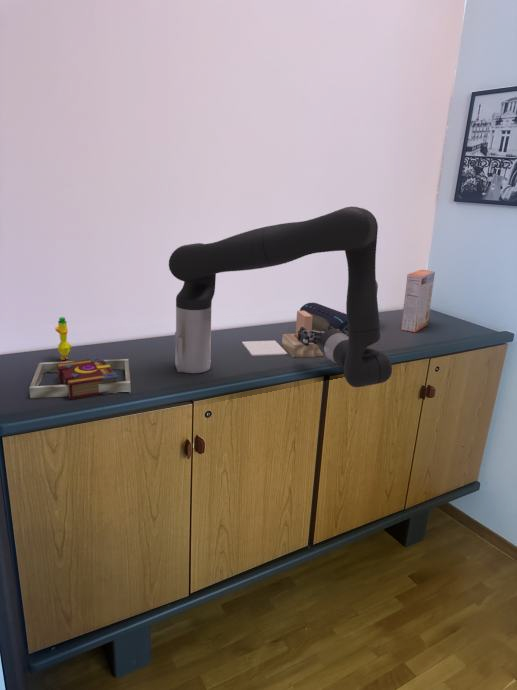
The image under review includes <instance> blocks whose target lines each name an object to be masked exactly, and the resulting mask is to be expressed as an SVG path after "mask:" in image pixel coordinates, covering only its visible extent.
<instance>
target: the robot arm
mask: <svg viewBox="0 0 517 690" xmlns="http://www.w3.org/2000/svg"><path fill="white" fill-rule="evenodd" d="M378 229H379V226H378V221H377V218H376V217H375V215H374V214H373V212H371V211H369V210H368V209H366V208H363V207H359V206H346V207H343V208H340V209H337V210H334V211H332V212H330V213H327V214H324V215H321V216H318V217H314V218H310V219H308V220H303V221H294V222H293V221H292V222H285V223H279V224H274V225H267V226H263V227H259V228H254V229H251V230H248V231H244V232H241V233H238V234H235V235H232V236H229V237H226V238H223V239H222V240H218V241H214V242H211V243H210V242H209V243H203V242H202V243H201V242H198V243H196V242H195V243H190V244H184V245H181V246H179V247H177V248H176V249H175V250H173V252H172V253H171V255H170V256H169V260H168V267H169V268H168V269H169V271H170V272H171V275H173V277H175V278H176V279H177V280H178V281H182V282H183V285H182V287H181V290H180V291H179V292H178V293H177V295H176V298H175V332H174V349H175V350H174V355H175V356H174V365H175V369H176V371H177V373H186V374H200V373H205V372H208V371H209V370H210V369H211V361H212V360H211V351H212V350H211V349H212V348H211V345H212V344H211V342H212V305H213V304H212V303H213V299H214V295H215V291H216V279H217V276H216V275H217V274H219V273H220V274H222V273H226V272H228V273H229V272H241V271H252V270H259V269H264V268H269V267H270V268H271V267H276V266H280V265H284V264H287V263H290V262H291V263H292V262H293V261H295V260H298V259H301V258H303V257H306V256H310V255H312V254H313V255H314V254H318V253H328V252H330V253H331V252H339V251H340V252H342V251H344V253H345V258H346V262H347V272H348V273H347V275H348V276H347V277H348V278H347V291H346V303H345V304H346V305H345V307H346V314H347V325H348V331H347V330H345V329H344V330H342V331H340V330H339V329H335V328H333V327H332V326H329V328H328V330H327V331H326V332H323V331H322V332H319V331H315V330H312V331H308V330H307V329H305V328H304V327H301V329H299V331H298V338H297V340H298V341H299V342H301V343H302V344H303V345H305V346H309V343H312V344H315V345H318V347H319V349H320V351H321V352H322V353H323V356H325V357H327V358H328V359H329V360H330V361H331V362H332V363H334V364H336V365H337V366H339V367H340V368H341V369H342V370H343V375H344V379H345V380H346V382H347V383H348V384H349V386H351V387H352V388H361V387H367V386H373V385H379V384H383V383H385V382H387V381H388V380H389V379H390V378H391V376H392V373H393V366H392V363H391V361H390V359H389V357H388V356H387V355H386V354H385V353H383V352H381V351H379V350H377V349H375V348H374V349H373V348H369V347H370V346H371V345H374V344H376V343H377V342H379V341H380V340H381V326H380V315H379V314H380V313H379V304H378V290H377V291H376V281H377V280H376V279H377V278H376V277H377V276H376V259H377V257H376V255H377V244H378ZM308 334H310V338H309V335H308Z"/></svg>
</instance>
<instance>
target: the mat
mask: <svg viewBox="0 0 517 690" xmlns="http://www.w3.org/2000/svg"><path fill="white" fill-rule="evenodd" d="M241 343H242V345H243V346H244V348H245V350H247V352H248V353H249V354H250V355H251V356H252V357H258V356H259V357H261V356H282V355H283V356H284V355H285V356H286V354H287V355H288V354H289V353H288V352H287V351H286V350H285V349H284V348H283V347H282V345H280V344H279V343H278V342H277V341H276V340H250V341H241Z"/></svg>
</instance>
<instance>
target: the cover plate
mask: <svg viewBox="0 0 517 690" xmlns="http://www.w3.org/2000/svg"><path fill="white" fill-rule="evenodd" d="M312 318H313V316H312V315H310V314H309V313H307V312H306V311H299V310H297V311H296V321H295V322H296V323H295V333H294V334H295V337H296V338H298V331H299V329H301V327H304V328H305V329H307V330H308V331H312ZM308 335H309V338H310V334H308Z"/></svg>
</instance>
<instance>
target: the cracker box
mask: <svg viewBox="0 0 517 690" xmlns="http://www.w3.org/2000/svg"><path fill="white" fill-rule="evenodd" d="M435 274H436V271H433V270H428V269H419V270H416V271H414V272H411V273H408V274H407V275H406V276H407V277H406V285H405V292H404V293H405V294H404V303H403V309H402V319H401V327H400V330H401V331H403V330H404V332H410V333H417V332H419V331H420V330H422V329H424V328H425V327H426V326H428V325H429V317H430V310H431V303H432V297H433V296H432V295H433V288H434V283H435V282H434V281H435Z"/></svg>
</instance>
